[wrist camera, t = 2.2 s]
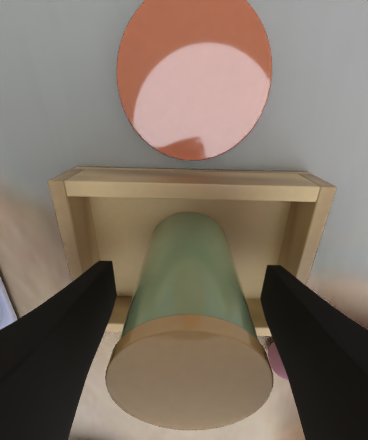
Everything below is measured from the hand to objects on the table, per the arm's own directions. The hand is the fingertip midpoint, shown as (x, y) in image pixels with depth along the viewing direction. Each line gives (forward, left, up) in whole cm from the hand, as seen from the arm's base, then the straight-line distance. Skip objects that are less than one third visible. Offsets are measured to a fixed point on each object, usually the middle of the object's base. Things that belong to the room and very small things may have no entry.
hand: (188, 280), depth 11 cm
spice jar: (0, 0, -3) cm, 3 cm away
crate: (0, 0, -3) cm, 3 cm away
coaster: (0, +8, -3) cm, 9 cm away
